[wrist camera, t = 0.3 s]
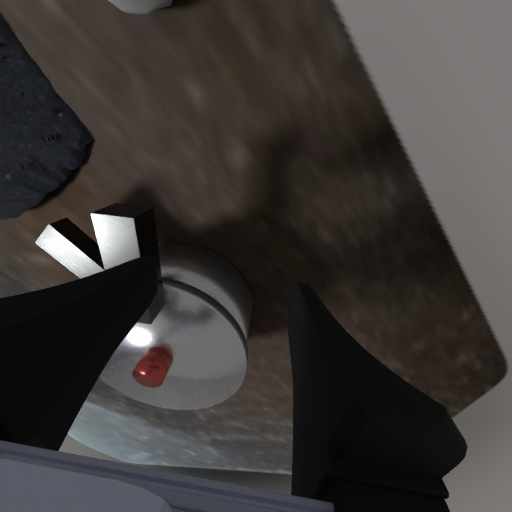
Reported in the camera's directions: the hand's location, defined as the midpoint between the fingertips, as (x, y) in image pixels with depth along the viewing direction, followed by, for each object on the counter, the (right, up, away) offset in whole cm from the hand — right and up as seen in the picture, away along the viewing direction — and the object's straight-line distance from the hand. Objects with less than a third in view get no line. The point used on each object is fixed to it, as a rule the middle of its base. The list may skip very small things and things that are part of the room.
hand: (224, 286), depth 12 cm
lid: (-6, -4, +7) cm, 10 cm away
